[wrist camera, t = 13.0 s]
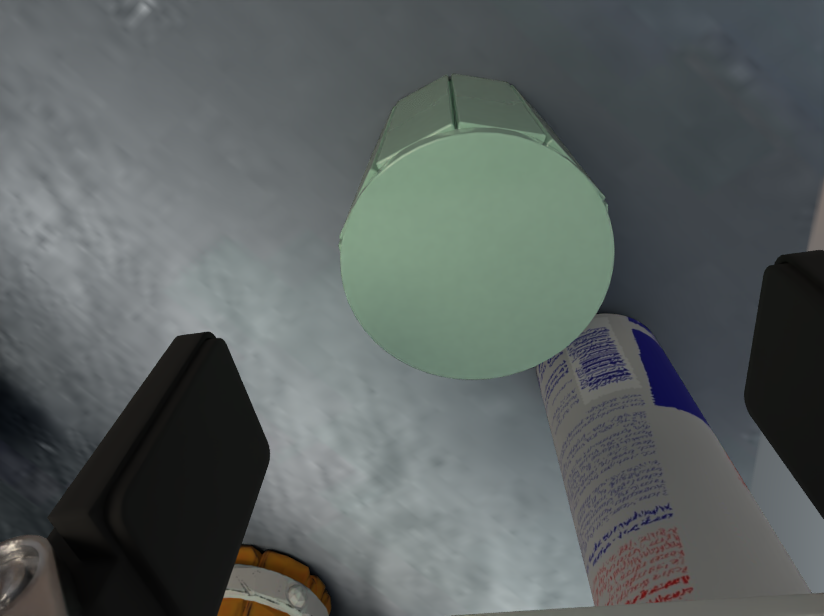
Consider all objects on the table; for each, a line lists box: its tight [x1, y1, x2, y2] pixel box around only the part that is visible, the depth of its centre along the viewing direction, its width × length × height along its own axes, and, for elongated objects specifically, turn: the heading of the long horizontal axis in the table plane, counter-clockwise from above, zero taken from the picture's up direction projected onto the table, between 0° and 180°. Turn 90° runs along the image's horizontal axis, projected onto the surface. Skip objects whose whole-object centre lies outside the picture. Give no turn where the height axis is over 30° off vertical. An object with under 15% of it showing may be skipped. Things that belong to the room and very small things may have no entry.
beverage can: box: [536, 314, 812, 606], centre depth 20 cm, size 6×6×15 cm
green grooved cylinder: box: [338, 74, 615, 380], centre depth 18 cm, size 7×7×9 cm
